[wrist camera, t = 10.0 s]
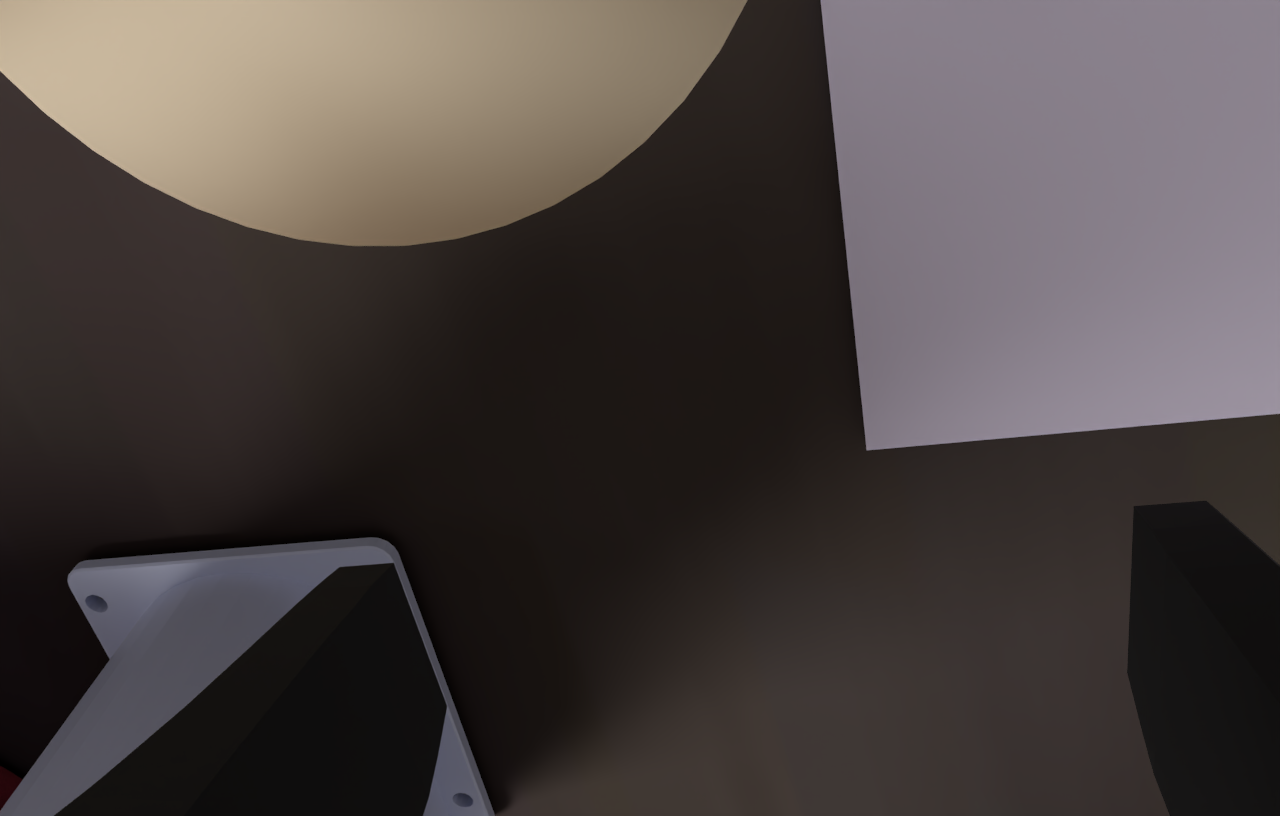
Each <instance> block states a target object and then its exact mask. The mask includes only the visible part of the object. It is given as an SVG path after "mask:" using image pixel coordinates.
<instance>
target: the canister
mask: <svg viewBox="0 0 1280 816" xmlns="http://www.w3.org/2000/svg"><path fill="white" fill-rule="evenodd" d="M22 780H23V779H22V778H21V777H19V776H17V775H16V774H14V773H13V772H11V771H9V770H7V769H6V768H4V767H2V766H1V765H0V810H1V809H2V808H3V806H4V805H5V804H6V802H7V801H8V799H9V798H10V797H11V795H12V794H13V793H14V791H15V790H16V788H17V787H18V786H19V784H20V783H21V781H22Z"/></svg>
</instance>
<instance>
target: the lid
mask: <svg viewBox="0 0 1280 816" xmlns="http://www.w3.org/2000/svg"><path fill="white" fill-rule="evenodd" d="M746 2H747V0H0V71H1V72H2V73H3V74H4V75H5V76H6V77H7V78H8V79H9V80H10V81H11V82H12V83H14V84H15V85H16V86H17V87H18V88H19V89H20V90H21V91H22V92H23V93H24V94H25V95H26V96H27V97H28V98H29V99H31V100H32V101H33V102H34V103H35V104H36V105H37V106H38V107H39V108H40V109H41V110H42V111H43V112H44V113H45V114H47V115H48V116H49V117H51V118H52V119H53V120H54V121H56V122H57V123H58V124H60V125H61V126H62V127H64V128H65V129H66V130H67V131H69V132H70V133H71V134H73V135H74V136H75V137H76V138H78V139H79V140H80V141H82V142H83V143H84V144H85V145H87V146H88V147H89V148H91V149H92V150H93V151H95V152H96V153H98V154H99V155H101V156H103V157H104V158H106V159H107V160H109V161H111V162H112V163H114V164H115V165H117V166H118V167H120V168H122V169H123V170H125V171H126V172H128V173H130V174H131V175H133V176H134V177H136V178H138V179H139V180H141V181H142V182H144V183H146V184H148V185H150V186H152V187H154V188H156V189H158V190H160V191H162V192H164V193H166V194H168V195H170V196H172V197H174V198H176V199H178V200H180V201H182V202H184V203H186V204H188V205H190V206H193V207H195V208H197V209H200V210H202V211H205V212H208V213H211V214H213V215H216V216H219V217H222V218H224V219H227V220H230V221H233V222H235V223H238V224H241V225H243V226H246V227H250V228H254V229H258V230H262V231H266V232H270V233H274V234H278V235H283V236H287V237H291V238H295V239H299V240H306V241H315V242H323V243H331V244H340V245H348V246H407V245H415V244H423V243H430V242H438V241H445V240H453V239H458V238H462V237H465V236H469V235H473V234H476V233H480V232H484V231H487V230H491V229H495V228H499V227H502V226H506V225H508V224H511V223H513V222H515V221H518V220H520V219H522V218H525V217H527V216H530V215H532V214H534V213H537V212H539V211H541V210H544V209H546V208H548V207H551V206H553V205H555V204H557V203H559V202H560V201H562V200H564V199H565V198H567V197H569V196H570V195H572V194H574V193H575V192H577V191H579V190H580V189H582V188H584V187H585V186H587V185H589V184H590V183H592V182H594V181H595V180H597V179H599V178H600V177H602V176H603V175H604V174H606V173H607V172H608V171H609V170H611V169H612V168H613V167H614V166H616V165H617V164H618V163H619V162H621V161H622V160H623V159H624V158H626V157H627V156H628V155H629V154H631V153H632V152H633V151H634V150H636V149H637V148H638V147H639V146H640V145H642V144H643V143H644V142H645V141H646V140H647V139H648V138H649V137H650V136H651V135H652V134H653V133H654V132H655V131H656V130H657V129H658V127H659V126H660V125H661V124H662V123H663V122H664V121H665V120H666V119H667V118H668V117H669V116H670V115H671V114H672V113H673V112H674V111H675V110H676V109H677V107H678V106H679V105H680V104H681V103H682V102H683V101H684V100H685V99H686V97H687V96H688V94H689V93H690V92H691V90H692V89H693V88H694V86H695V85H696V83H697V82H698V81H699V79H700V78H701V77H702V75H703V74H704V72H705V71H706V70H707V68H708V67H709V66H710V64H711V63H712V61H713V60H714V59H715V57H716V56H717V54H718V53H719V52H720V50H721V48H722V46H723V45H724V43H725V41H726V39H727V37H728V35H729V34H730V32H731V30H732V28H733V26H734V24H735V22H736V21H737V19H738V17H739V15H740V13H741V11H742V10H743V8H744V6H745V4H746Z"/></svg>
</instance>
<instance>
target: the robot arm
mask: <svg viewBox="0 0 1280 816" xmlns="http://www.w3.org/2000/svg"><path fill="white" fill-rule="evenodd" d="M67 582H68V585H69V588H70V589H71V591H72V593H73V595H74V596H75V598H76V600H77V602H78V604H79V605H80V607H81V609H82V611H83V612H84V614H85V616H86V618H87V620H88V621H89V623H90V625H91V627H92V628H93V630H94V632H95V634H96V636H97V637H98V639H99V641H100V643H101V645H102V646H103V648H104V650H105V652H106V653H107V655H108V657H109V659H110V660H109V661H108V663H107V664H106V665H105V667H104V668H103V670H102V671H101V672H100V674H99V675H98V677H97V678H96V679H95V681H94V682H93V683H92V685H91V686H90V688H89V689H88V690H87V692H86V693H85V694H84V696H83V697H82V699H81V700H80V701H79V703H78V704H77V706H76V707H75V708H74V710H73V711H72V712H71V714H70V715H69V717H68V718H67V719H66V721H65V722H64V723H63V725H62V726H61V728H60V729H59V730H58V732H57V733H56V735H55V736H54V737H53V739H52V740H51V741H50V743H49V744H48V746H47V747H46V748H45V750H44V751H43V752H42V754H41V755H40V757H39V758H38V759H37V761H36V762H35V764H34V765H33V766H32V768H31V769H30V770H29V772H28V773H27V775H26V776H25V777H24V779H23V780H22V781H21V783H20V784H19V786H18V787H17V788H16V790H15V791H14V793H13V794H12V795H11V797H10V798H9V799H8V801H7V802H6V804H5V805H4V806H3V808H2V809H1V810H0V816H495V814H494V811H493V809H492V806H491V803H490V800H489V798H488V795H487V792H486V790H485V787H484V784H483V781H482V779H481V776H480V773H479V771H478V768H477V765H476V762H475V760H474V757H473V754H472V752H471V749H470V746H469V743H468V741H467V738H466V735H465V732H464V730H463V727H462V724H461V722H460V719H459V716H458V713H457V711H456V708H455V705H454V703H453V700H452V697H451V694H450V692H449V689H448V686H447V684H446V681H445V678H444V675H443V673H442V670H441V667H440V665H439V662H438V659H437V656H436V654H435V651H434V648H433V646H432V643H431V640H430V637H429V635H428V632H427V629H426V627H425V624H424V621H423V618H422V616H421V613H420V610H419V608H418V605H417V602H416V599H415V597H414V594H413V591H412V589H411V586H410V583H409V580H408V578H407V575H406V572H405V570H404V567H403V564H402V561H401V559H400V556H399V553H398V552H397V550H396V549H395V547H394V546H393V545H392V544H390V543H389V542H388V541H386V540H383V539H381V538H374V537H367V538H355V539H342V540H330V541H318V542H305V543H293V544H281V545H268V546H256V547H244V548H232V549H219V550H207V551H195V552H182V553H170V554H158V555H146V556H133V557H121V558H109V559H96V560H86V561H82V562H79V563H78V564H77V565H76V566H75V567H74V569H73V570H72V571H71V572H70V573H69V574H68V579H67ZM98 596H99V597H101V598H103V599H104V600H103V599H101V598H99V597H98ZM1127 673H1128V677H1129V681H1130V685H1131V689H1132V693H1133V697H1134V701H1135V705H1136V709H1137V712H1138V716H1139V720H1140V724H1141V728H1142V732H1143V736H1144V739H1145V743H1146V747H1147V750H1148V754H1149V758H1150V762H1151V765H1152V769H1153V773H1154V775H1155V778H1156V781H1157V783H1158V786H1159V788H1160V791H1161V794H1162V796H1163V799H1164V801H1165V804H1166V807H1167V809H1168V812H1169V814H1170V816H1280V565H1279V564H1278V563H1276V562H1275V561H1274V560H1273V559H1272V558H1271V557H1270V556H1269V555H1267V554H1266V553H1265V552H1264V551H1263V550H1262V549H1261V548H1260V547H1258V546H1257V545H1256V544H1255V543H1254V542H1253V541H1252V540H1251V539H1249V538H1248V537H1247V536H1246V535H1245V534H1244V533H1243V532H1242V531H1241V530H1239V529H1238V528H1237V527H1236V526H1235V525H1234V524H1233V523H1232V522H1230V521H1229V520H1228V519H1227V518H1226V517H1225V516H1224V515H1222V514H1221V513H1220V512H1219V511H1218V510H1217V509H1215V508H1214V507H1213V506H1212V505H1211V504H1209V503H1208V502H1207V501H1198V502H1184V503H1171V504H1158V505H1145V506H1134V517H1133V542H1132V568H1131V593H1130V619H1129V644H1128V670H1127ZM463 793H464V794H463Z"/></svg>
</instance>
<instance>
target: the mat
mask: <svg viewBox="0 0 1280 816" xmlns="http://www.w3.org/2000/svg"><path fill="white" fill-rule="evenodd" d="M821 10H822V19H823V29H824V39H825V49H826V58H827V68H828V78H829V88H830V97H831V107H832V117H833V127H834V137H835V146H836V156H837V166H838V176H839V185H840V195H841V205H842V215H843V224H844V234H845V244H846V254H847V264H848V273H849V283H850V293H851V303H852V312H853V322H854V332H855V342H856V351H857V361H858V371H859V381H860V391H861V400H862V410H863V420H864V430H865V439H866V449H867V450H877V449H888V448H900V447H911V446H922V445H933V444H944V443H956V442H967V441H978V440H989V439H1000V438H1012V437H1023V436H1034V435H1045V434H1056V433H1068V432H1079V431H1090V430H1101V429H1113V428H1124V427H1135V426H1146V425H1157V424H1169V423H1180V422H1191V421H1202V420H1213V419H1225V418H1236V417H1247V416H1258V415H1269V414H1280V0H821Z"/></svg>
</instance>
